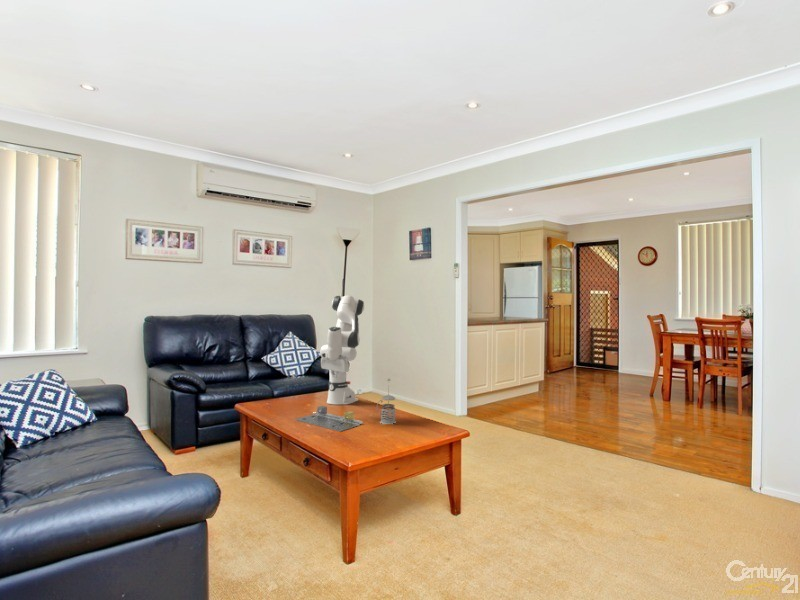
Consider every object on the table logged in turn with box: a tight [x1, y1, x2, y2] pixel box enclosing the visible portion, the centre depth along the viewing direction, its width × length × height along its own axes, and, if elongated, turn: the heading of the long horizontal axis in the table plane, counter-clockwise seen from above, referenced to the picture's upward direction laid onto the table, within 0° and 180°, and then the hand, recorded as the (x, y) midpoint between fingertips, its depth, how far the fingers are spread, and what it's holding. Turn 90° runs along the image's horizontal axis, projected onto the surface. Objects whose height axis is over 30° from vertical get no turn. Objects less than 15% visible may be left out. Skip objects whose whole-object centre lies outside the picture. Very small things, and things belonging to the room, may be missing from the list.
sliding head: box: [340, 411, 355, 421], centre depth 260 cm, size 9×4×4 cm, turn 143°
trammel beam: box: [312, 405, 364, 426], centre depth 265 cm, size 9×34×5 cm, turn 53°
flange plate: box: [295, 413, 360, 433], centre depth 259 cm, size 14×36×1 cm, turn 53°
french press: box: [376, 377, 397, 425], centre depth 262 cm, size 10×12×25 cm
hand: (334, 377), depth 273 cm, fingers closed
